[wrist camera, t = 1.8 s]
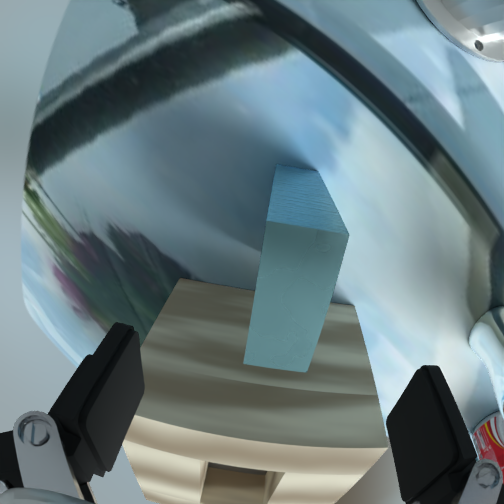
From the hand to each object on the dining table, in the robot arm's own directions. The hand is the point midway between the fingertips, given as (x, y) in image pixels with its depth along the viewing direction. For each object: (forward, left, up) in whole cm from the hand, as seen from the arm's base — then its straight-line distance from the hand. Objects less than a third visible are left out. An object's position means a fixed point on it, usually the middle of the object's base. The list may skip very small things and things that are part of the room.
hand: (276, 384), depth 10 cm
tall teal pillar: (-1, 0, -16) cm, 16 cm away
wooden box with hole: (+14, 0, -16) cm, 21 cm away
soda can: (+25, +38, -16) cm, 49 cm away
